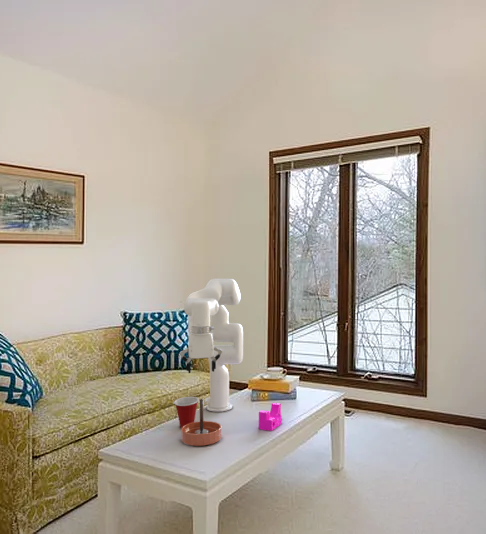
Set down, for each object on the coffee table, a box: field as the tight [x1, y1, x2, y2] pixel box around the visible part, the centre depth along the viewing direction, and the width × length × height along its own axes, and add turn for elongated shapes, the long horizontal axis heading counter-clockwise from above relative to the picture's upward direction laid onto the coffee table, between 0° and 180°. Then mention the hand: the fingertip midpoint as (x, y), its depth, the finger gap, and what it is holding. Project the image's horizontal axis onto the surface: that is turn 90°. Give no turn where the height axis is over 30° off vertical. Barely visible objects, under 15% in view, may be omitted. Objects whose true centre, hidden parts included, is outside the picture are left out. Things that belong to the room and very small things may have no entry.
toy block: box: [258, 402, 283, 432], centre depth 220 cm, size 15×6×8 cm, turn 156°
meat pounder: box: [195, 398, 209, 434], centre depth 201 cm, size 6×6×16 cm
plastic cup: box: [173, 396, 200, 429], centre depth 217 cm, size 11×11×12 cm
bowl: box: [180, 420, 222, 447], centre depth 201 cm, size 16×16×5 cm
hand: (201, 371), depth 201 cm, fingers open, 9 cm apart
